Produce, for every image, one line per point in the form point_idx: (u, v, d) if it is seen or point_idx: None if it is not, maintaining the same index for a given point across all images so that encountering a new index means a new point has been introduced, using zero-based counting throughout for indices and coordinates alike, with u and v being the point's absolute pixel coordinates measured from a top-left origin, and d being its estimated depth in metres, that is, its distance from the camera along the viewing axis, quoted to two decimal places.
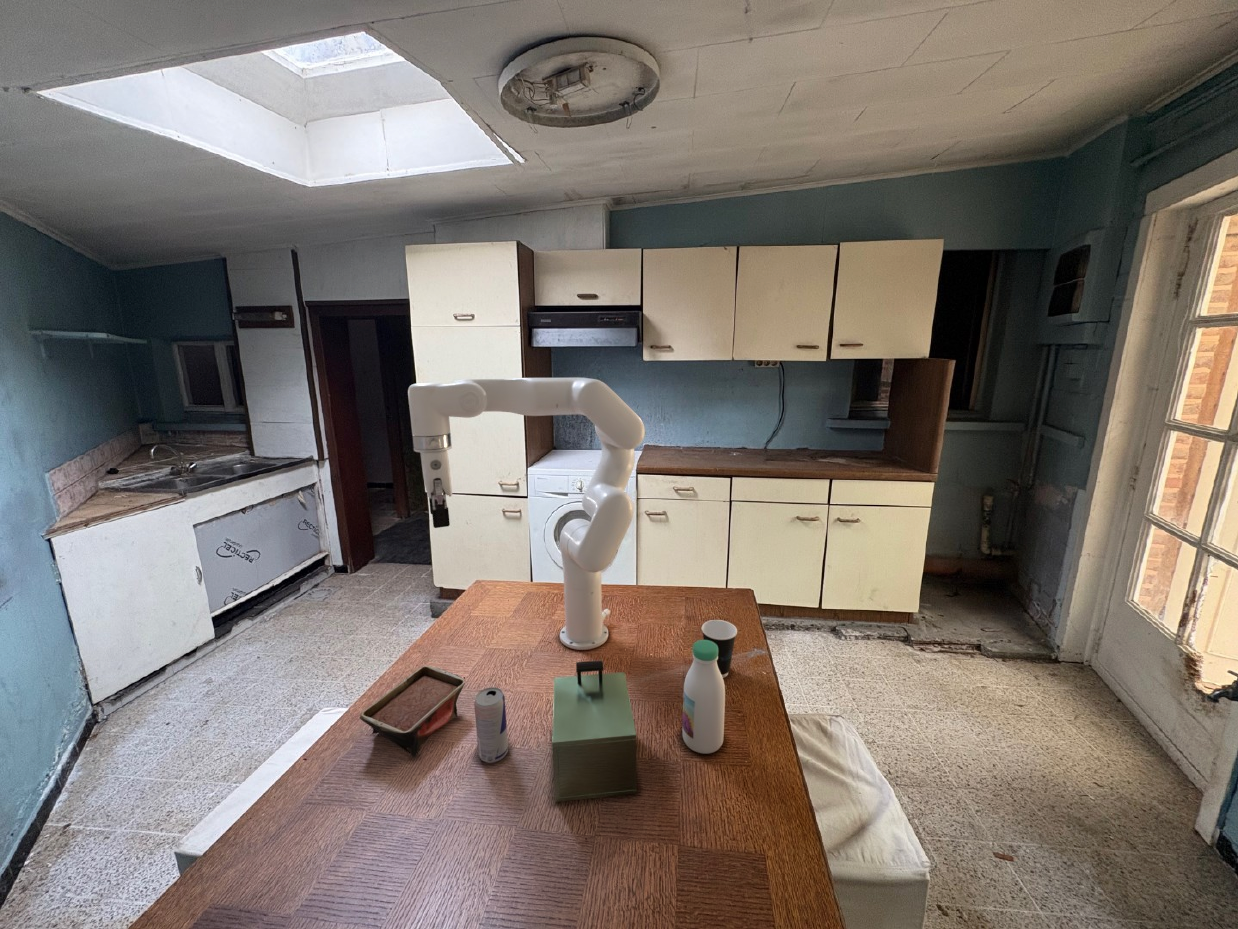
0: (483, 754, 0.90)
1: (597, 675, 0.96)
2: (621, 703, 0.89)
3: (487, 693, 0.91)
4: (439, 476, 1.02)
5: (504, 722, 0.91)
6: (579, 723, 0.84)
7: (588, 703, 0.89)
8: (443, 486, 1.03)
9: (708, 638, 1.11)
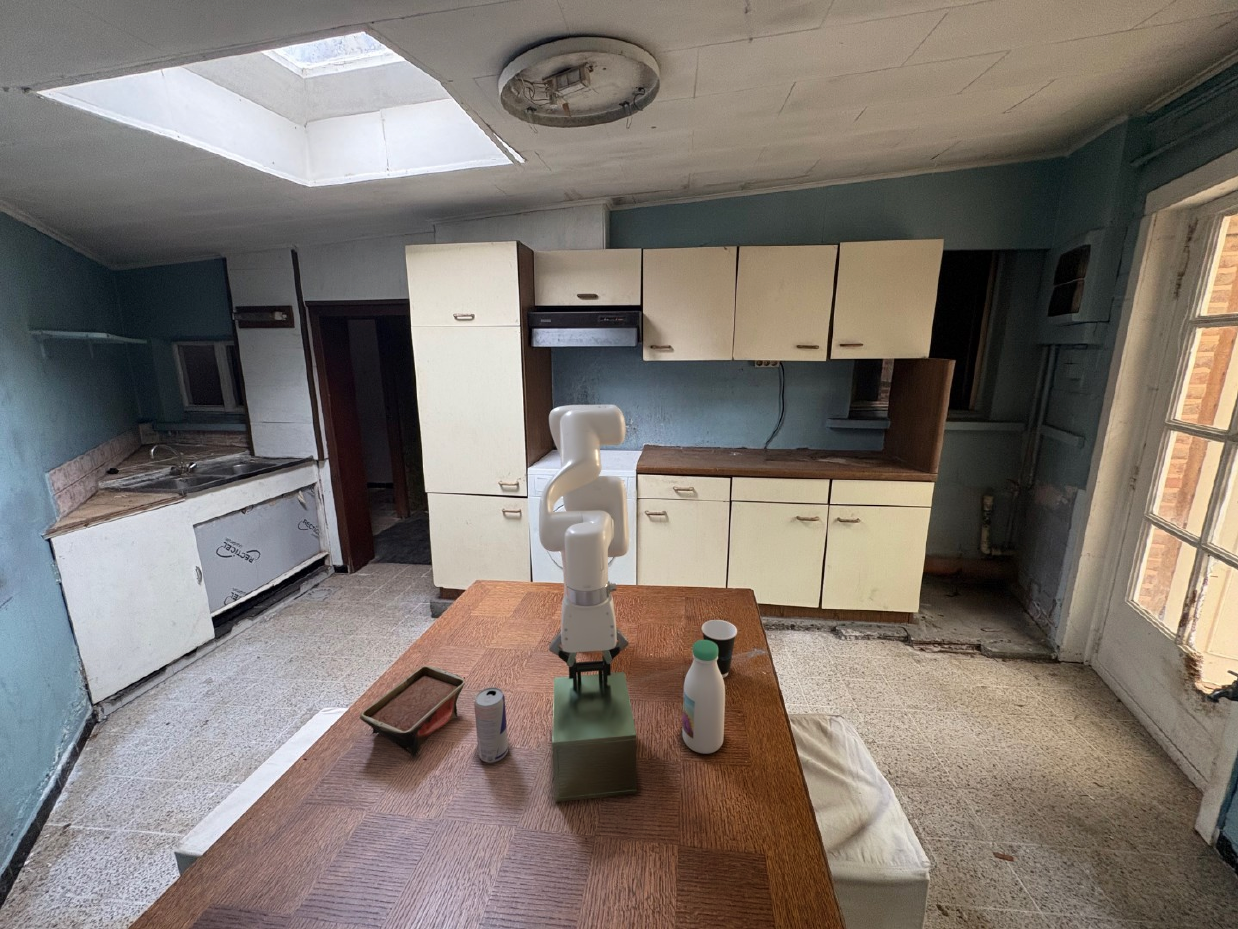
0: (483, 754, 0.90)
1: (597, 675, 0.96)
2: (621, 703, 0.89)
3: (487, 693, 0.91)
4: None
5: (504, 722, 0.91)
6: (579, 723, 0.84)
7: (588, 703, 0.89)
8: None
9: (708, 638, 1.11)
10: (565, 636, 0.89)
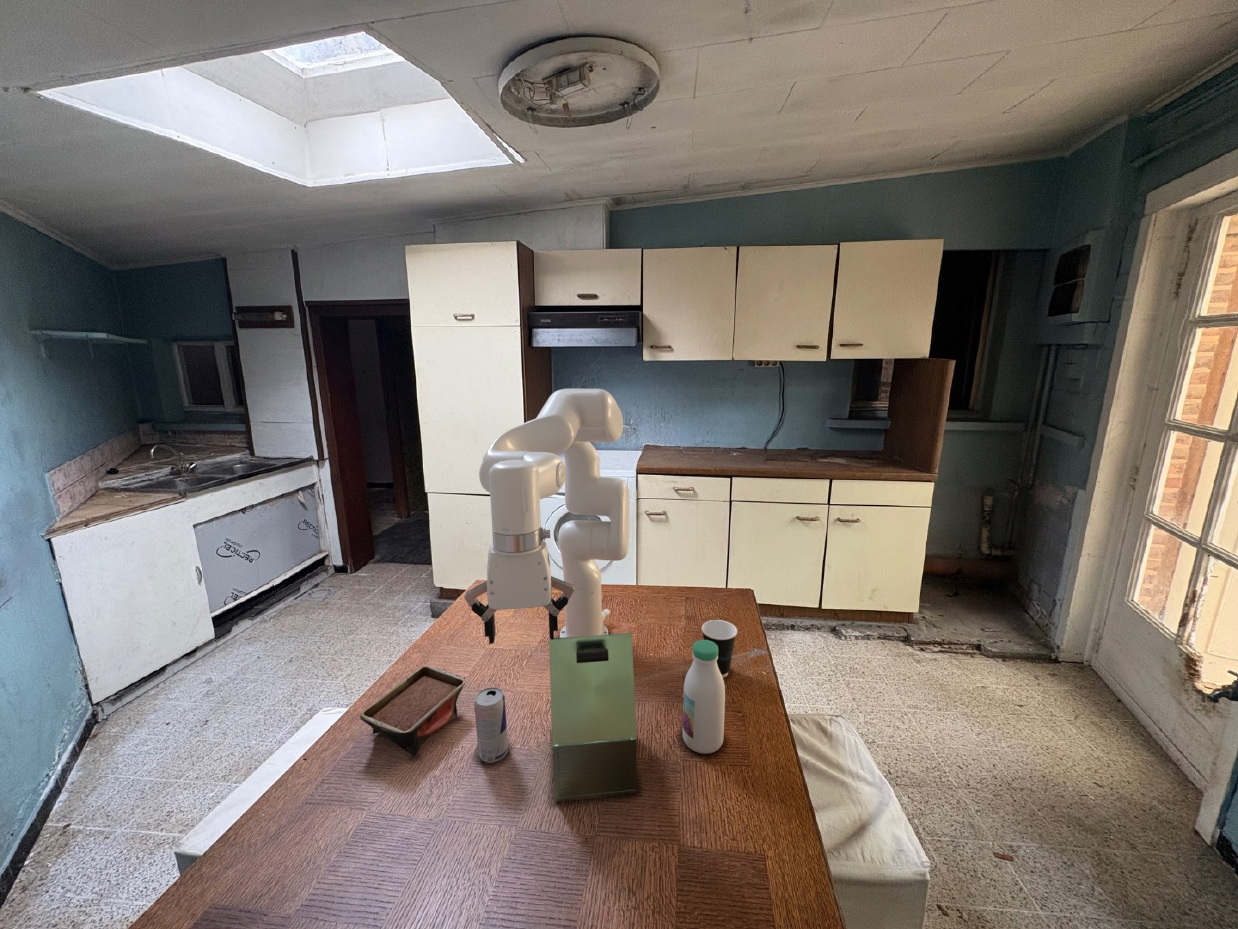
0: (483, 754, 0.90)
1: (600, 639, 0.82)
2: (625, 689, 0.82)
3: (487, 693, 0.91)
4: (550, 572, 0.81)
5: (504, 722, 0.91)
6: (579, 719, 0.80)
7: (589, 687, 0.81)
8: None
9: (708, 638, 1.11)
10: (491, 590, 0.78)
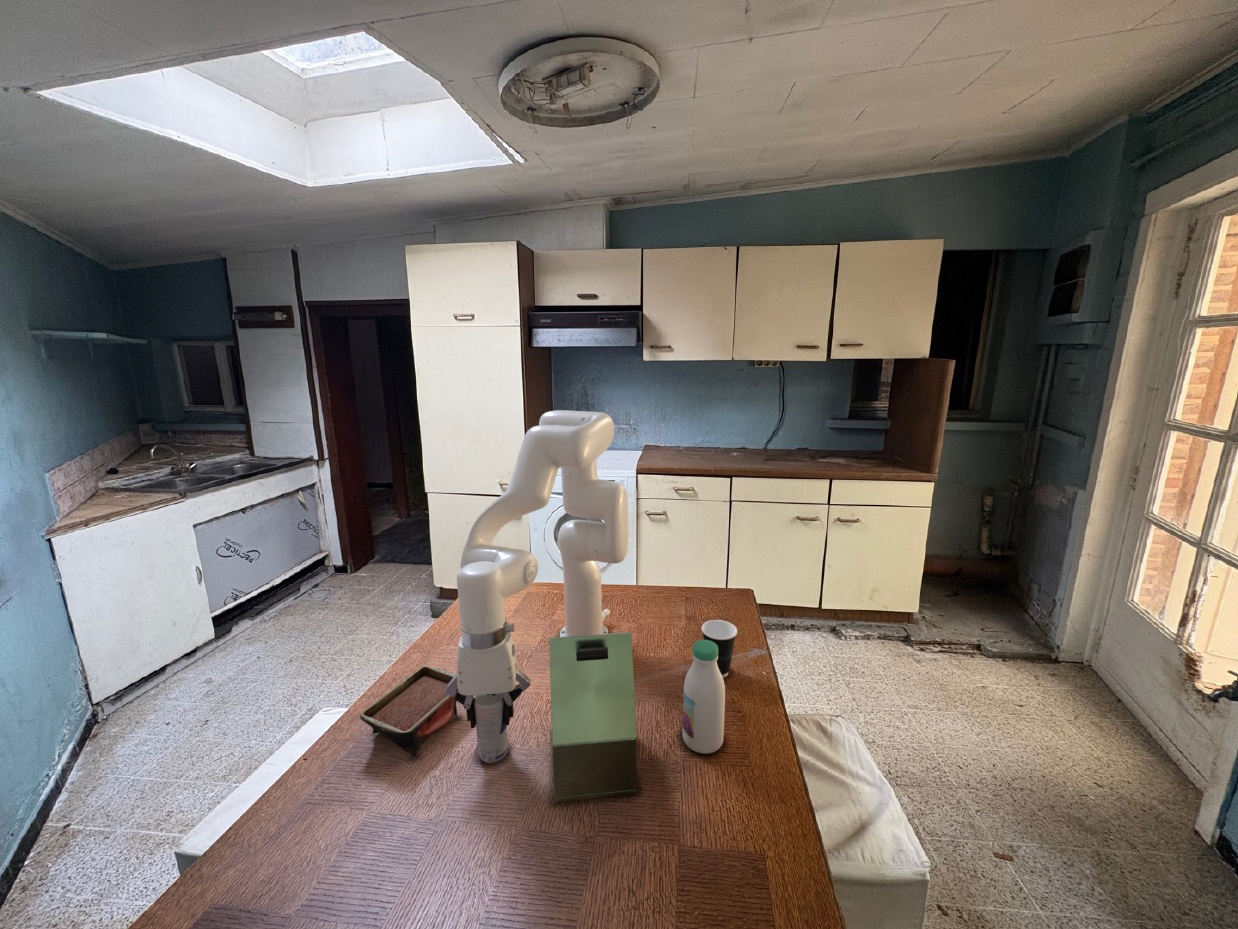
0: (483, 754, 0.90)
1: (600, 638, 0.83)
2: (625, 688, 0.82)
3: None
4: (516, 663, 0.90)
5: (504, 722, 0.91)
6: (579, 719, 0.81)
7: (589, 687, 0.81)
8: None
9: (708, 638, 1.11)
10: (460, 679, 0.87)
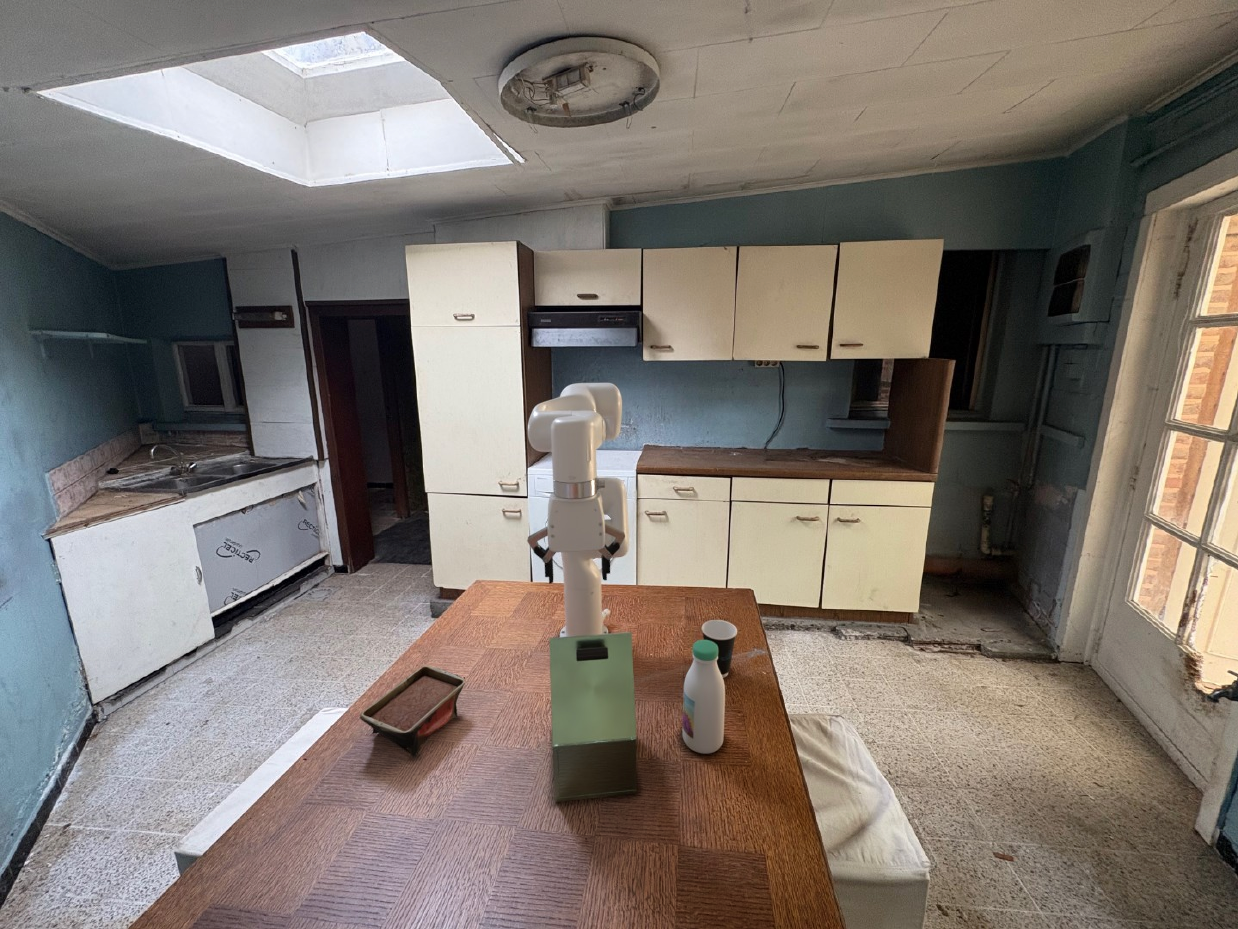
0: None
1: (600, 638, 0.83)
2: (625, 688, 0.82)
3: None
4: None
5: None
6: (579, 719, 0.81)
7: (589, 687, 0.81)
8: None
9: (708, 638, 1.11)
10: (552, 533, 0.86)
